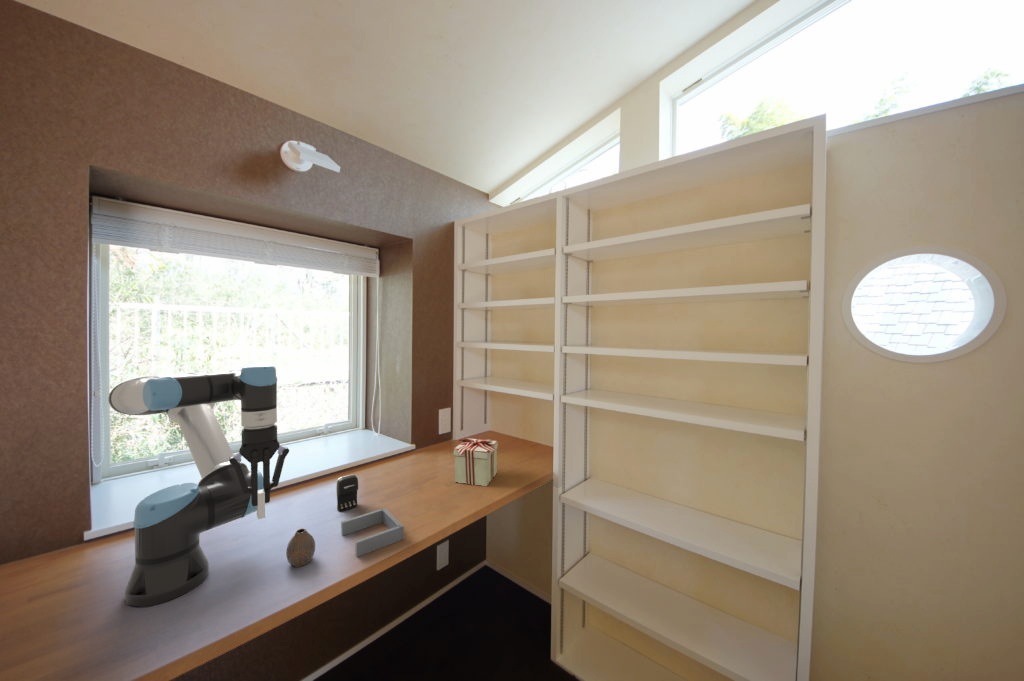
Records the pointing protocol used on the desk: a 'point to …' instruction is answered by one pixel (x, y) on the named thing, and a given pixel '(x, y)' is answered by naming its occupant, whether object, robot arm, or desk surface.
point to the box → (375, 540)
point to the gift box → (475, 461)
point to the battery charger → (346, 492)
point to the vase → (300, 548)
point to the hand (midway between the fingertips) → (261, 516)
